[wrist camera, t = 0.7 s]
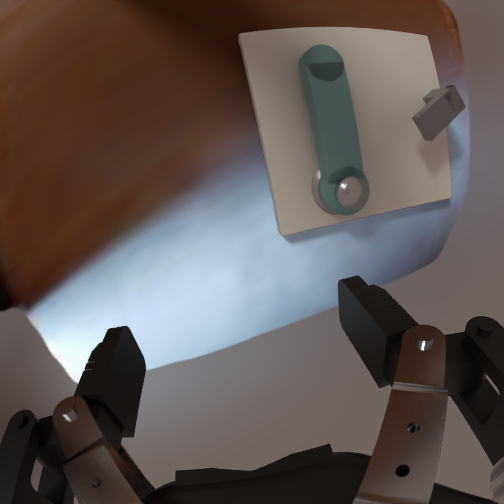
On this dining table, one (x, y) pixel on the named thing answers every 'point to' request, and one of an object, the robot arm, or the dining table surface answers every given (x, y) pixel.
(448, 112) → the grey angled pieces
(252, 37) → the base board
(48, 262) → the dining table surface
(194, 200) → the dining table surface
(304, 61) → the teal link bar
